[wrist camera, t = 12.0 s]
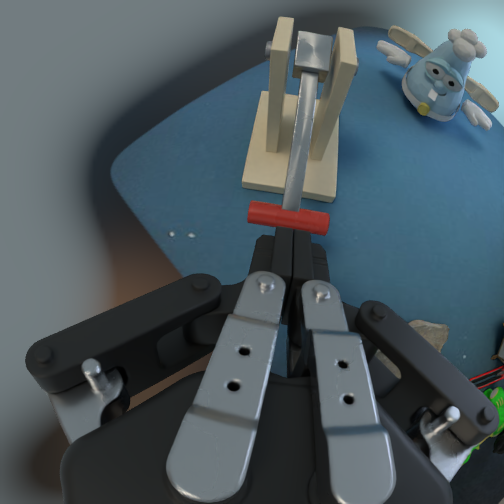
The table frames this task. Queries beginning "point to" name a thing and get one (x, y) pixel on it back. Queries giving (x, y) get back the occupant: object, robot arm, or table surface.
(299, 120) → the lever
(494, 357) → the game die
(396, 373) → the stone
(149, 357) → the robot arm
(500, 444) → the chess piece
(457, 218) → the table surface
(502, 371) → the red paper clip
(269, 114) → the lever stand
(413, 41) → the toy figure
